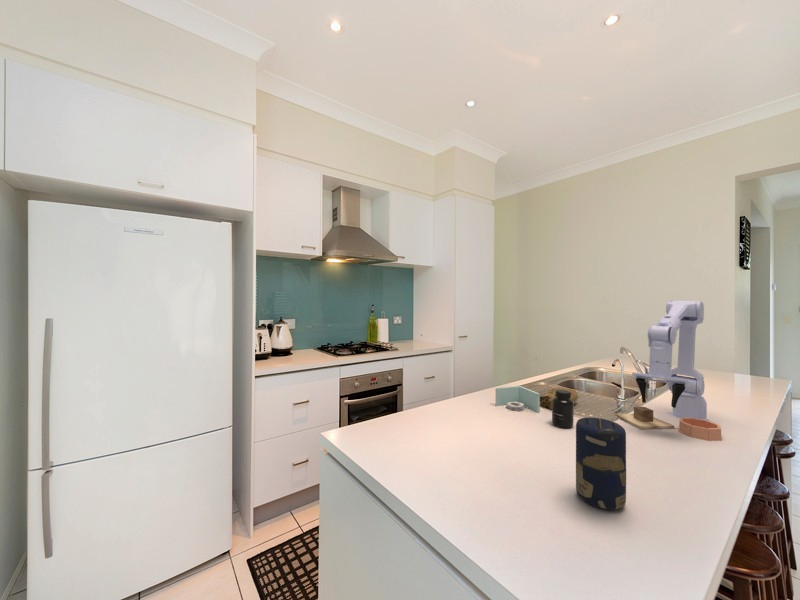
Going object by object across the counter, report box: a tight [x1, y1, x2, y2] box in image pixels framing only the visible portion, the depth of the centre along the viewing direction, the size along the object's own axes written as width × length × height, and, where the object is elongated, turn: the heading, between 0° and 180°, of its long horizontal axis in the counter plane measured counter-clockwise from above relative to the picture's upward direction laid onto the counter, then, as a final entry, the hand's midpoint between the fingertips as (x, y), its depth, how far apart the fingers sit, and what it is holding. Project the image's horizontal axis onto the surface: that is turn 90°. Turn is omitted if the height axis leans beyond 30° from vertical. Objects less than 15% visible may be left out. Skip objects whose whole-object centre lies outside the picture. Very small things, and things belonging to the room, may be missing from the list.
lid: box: [614, 406, 675, 430], centre depth 118 cm, size 12×12×5 cm
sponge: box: [540, 387, 579, 411], centre depth 139 cm, size 13×8×20 cm
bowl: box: [678, 418, 722, 442], centre depth 108 cm, size 10×10×4 cm
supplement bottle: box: [551, 390, 575, 430], centre depth 116 cm, size 7×7×12 cm
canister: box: [575, 416, 627, 510], centre depth 73 cm, size 10×10×18 cm
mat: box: [619, 419, 677, 431], centre depth 118 cm, size 13×13×1 cm
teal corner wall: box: [495, 385, 541, 413], centre depth 133 cm, size 12×12×8 cm
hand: (658, 404), depth 107 cm, fingers open, 7 cm apart
